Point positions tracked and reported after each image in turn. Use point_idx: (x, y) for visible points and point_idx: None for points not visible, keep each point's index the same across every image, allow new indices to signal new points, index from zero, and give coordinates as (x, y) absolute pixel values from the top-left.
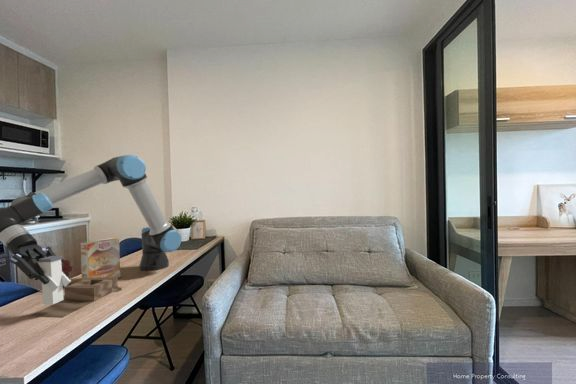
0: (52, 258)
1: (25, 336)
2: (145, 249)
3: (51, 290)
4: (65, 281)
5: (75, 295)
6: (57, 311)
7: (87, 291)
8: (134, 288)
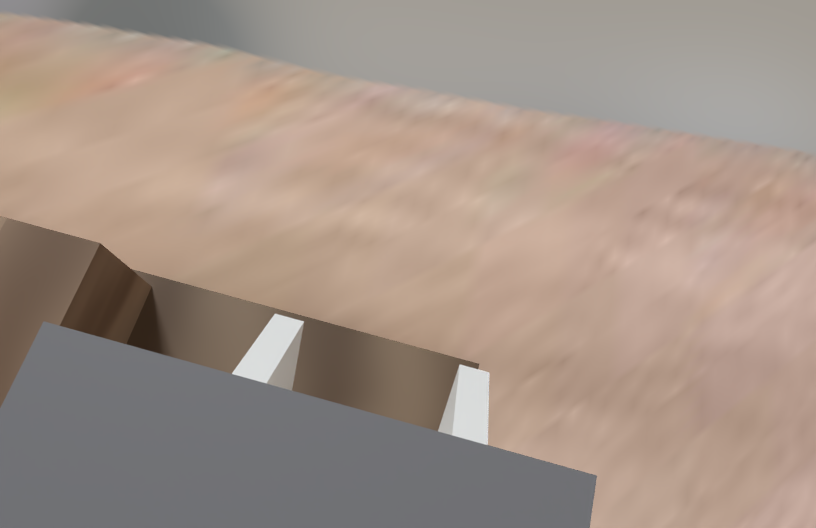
0: (461, 481)
1: (706, 481)
2: None
3: None
4: (281, 382)
5: None
6: None
7: (82, 329)
8: None
